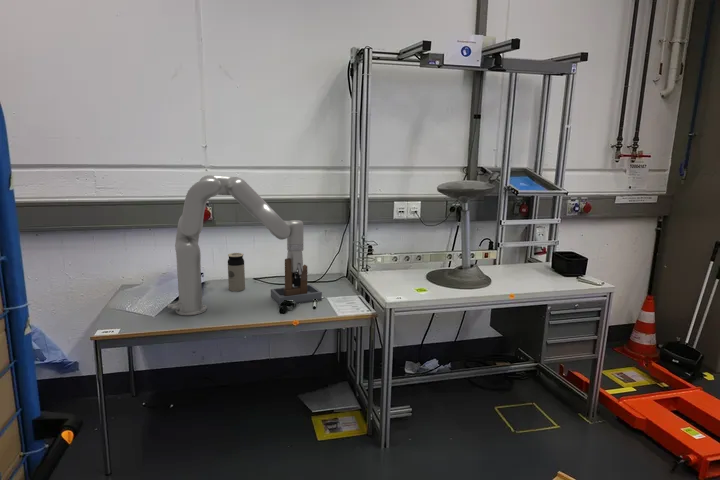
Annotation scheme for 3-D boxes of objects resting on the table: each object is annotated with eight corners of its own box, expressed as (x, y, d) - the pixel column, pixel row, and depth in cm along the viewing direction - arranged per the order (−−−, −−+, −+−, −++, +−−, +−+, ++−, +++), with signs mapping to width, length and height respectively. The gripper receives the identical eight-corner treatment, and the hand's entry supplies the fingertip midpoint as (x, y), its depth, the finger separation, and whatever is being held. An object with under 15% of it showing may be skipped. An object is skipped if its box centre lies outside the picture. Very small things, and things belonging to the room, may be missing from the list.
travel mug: (239, 286, 247) (238, 251, 243) (248, 289, 241) (247, 254, 238) (225, 289, 241) (224, 254, 237) (234, 292, 236) (232, 257, 232)
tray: (279, 306, 217) (279, 297, 217) (270, 297, 230) (270, 289, 229) (321, 300, 227) (321, 292, 226) (310, 291, 239) (310, 284, 238)
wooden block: (307, 294, 229) (307, 258, 225) (286, 298, 224) (286, 260, 220) (304, 292, 232) (304, 256, 229) (283, 295, 227) (283, 258, 223)
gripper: (281, 244, 229) (282, 281, 232) (293, 251, 214) (293, 290, 218) (296, 242, 232) (297, 279, 236) (309, 250, 218) (309, 288, 221)
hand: (295, 284), depth 227 cm, fingers closed on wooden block, 3 cm apart
